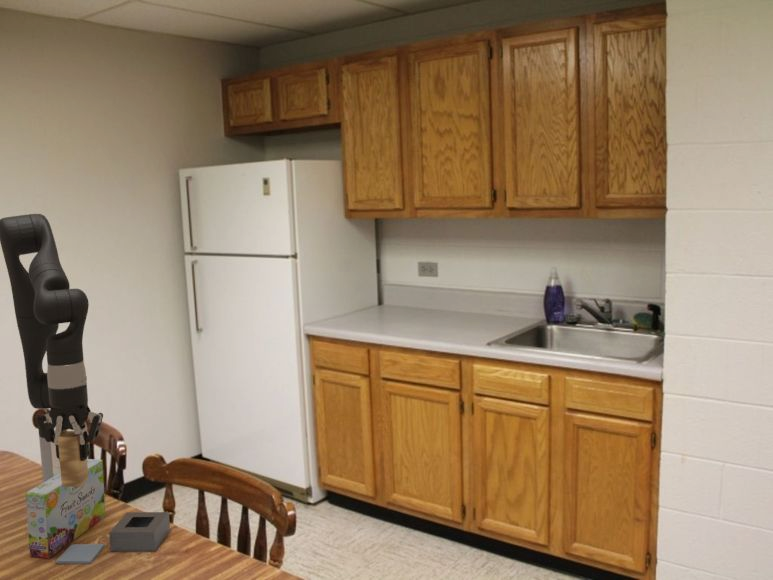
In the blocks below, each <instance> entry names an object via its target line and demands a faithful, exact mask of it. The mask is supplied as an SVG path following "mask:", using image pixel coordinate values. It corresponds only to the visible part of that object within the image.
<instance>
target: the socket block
mask: <svg viewBox="0 0 773 580" xmlns="http://www.w3.org/2000/svg"><path fill="white" fill-rule="evenodd" d="M170 531H171V525H170V512H168V511H166V512H165V511H153V512H151V511H150V512H148V511H146V512H145V511H140V512H138V511H135V512H133V511H132V512H131V511H130V512H128V511H127V512H126V513H125V514H124V515H123V516H122V517H121V519H120V520H119V521H118V522H117V523H116V524H115V525H114V526H113V528H112V529H110V531H109V543H110V545H109V546H110V552H111V553H113V552H115V553H116V552H119V553H120V552H121V553H122V552H124V553H125V552H132V553H133V552H156V551H157V550H158V548H159V547H160V546H161V544H162V543H163V541H164V540H165V538H166V537H167V535H168V534H169V533H170ZM163 539H164V540H163Z"/></svg>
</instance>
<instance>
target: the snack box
mask: <svg viewBox="0 0 773 580" xmlns="http://www.w3.org/2000/svg"><path fill="white" fill-rule="evenodd" d="M103 462H104V461H103V459H93V458H87V466H88V480H87V481H86V482H85V483H84V484H82V485H81V486H73V487H62V481H61V472H60V473H59V474H57V475H55V476H54V477H52V478H50V479H49V480H47V481H45V482H43V481H42V483H40V484H38V485H36V486H35V487H33V488H31V489H29V490H28V491H26V492H25V502H26V515H27V520H26V521H27V532H28V533H27V534H28V546H29V557H33V558H34V557H35V558H41V559H51V558H52V557H53V556H55V555H56V554H57V553H59V552H60V551H61V550H63V549H64V548H65V547H67V546H68V545H70V544H71V543H72V542H73V541H75V540H76V539H78V538H79V537H80V536H82V535H83V534H85V533H86V532H87V531H89V530H90V529H91V528H93V527H94V526H96V524H98V523H99V522H101V521H102V520H103V519H105V518H106V498H105V486H104V485H105V481H104V463H103Z"/></svg>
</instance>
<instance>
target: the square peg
mask: <svg viewBox="0 0 773 580" xmlns="http://www.w3.org/2000/svg"><path fill="white" fill-rule="evenodd" d="M79 445H80V443H79V440H78V436H77V435H75V432H74V431H67V432H66V433H63V434H62V436H59V437H58V446H59V458H60V470H61V481H62V487H73V486H81V485H82V484H84V483H85V482H86V481H87V480H88V466H87V459H88V458H87V459H86V460H85V461H80V451H79Z"/></svg>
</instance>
